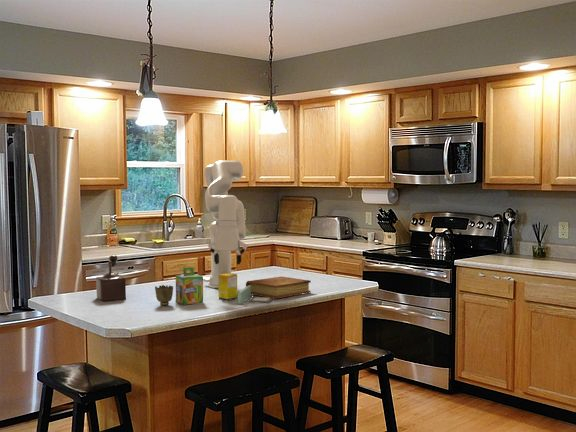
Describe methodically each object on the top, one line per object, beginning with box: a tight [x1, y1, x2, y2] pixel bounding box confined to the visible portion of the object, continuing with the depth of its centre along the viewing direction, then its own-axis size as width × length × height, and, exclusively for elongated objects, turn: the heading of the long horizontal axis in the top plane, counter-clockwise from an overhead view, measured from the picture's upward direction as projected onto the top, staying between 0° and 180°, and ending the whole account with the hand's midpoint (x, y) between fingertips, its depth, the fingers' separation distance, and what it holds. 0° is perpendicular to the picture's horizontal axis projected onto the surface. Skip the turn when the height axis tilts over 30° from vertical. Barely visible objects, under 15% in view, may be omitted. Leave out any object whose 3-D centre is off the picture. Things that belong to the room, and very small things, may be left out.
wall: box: [235, 285, 254, 305], centre depth 275 cm, size 3×17×5 cm, turn 169°
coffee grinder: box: [95, 254, 127, 302], centre depth 281 cm, size 16×11×18 cm
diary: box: [245, 276, 311, 299], centre depth 290 cm, size 23×19×6 cm
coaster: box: [248, 296, 274, 304], centre depth 274 cm, size 9×9×1 cm
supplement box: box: [218, 272, 238, 301], centre depth 278 cm, size 6×6×11 cm
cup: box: [154, 284, 174, 307], centre depth 264 cm, size 8×7×8 cm
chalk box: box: [175, 266, 204, 306], centre depth 270 cm, size 9×9×15 cm
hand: (227, 263), depth 276 cm, fingers open, 9 cm apart
